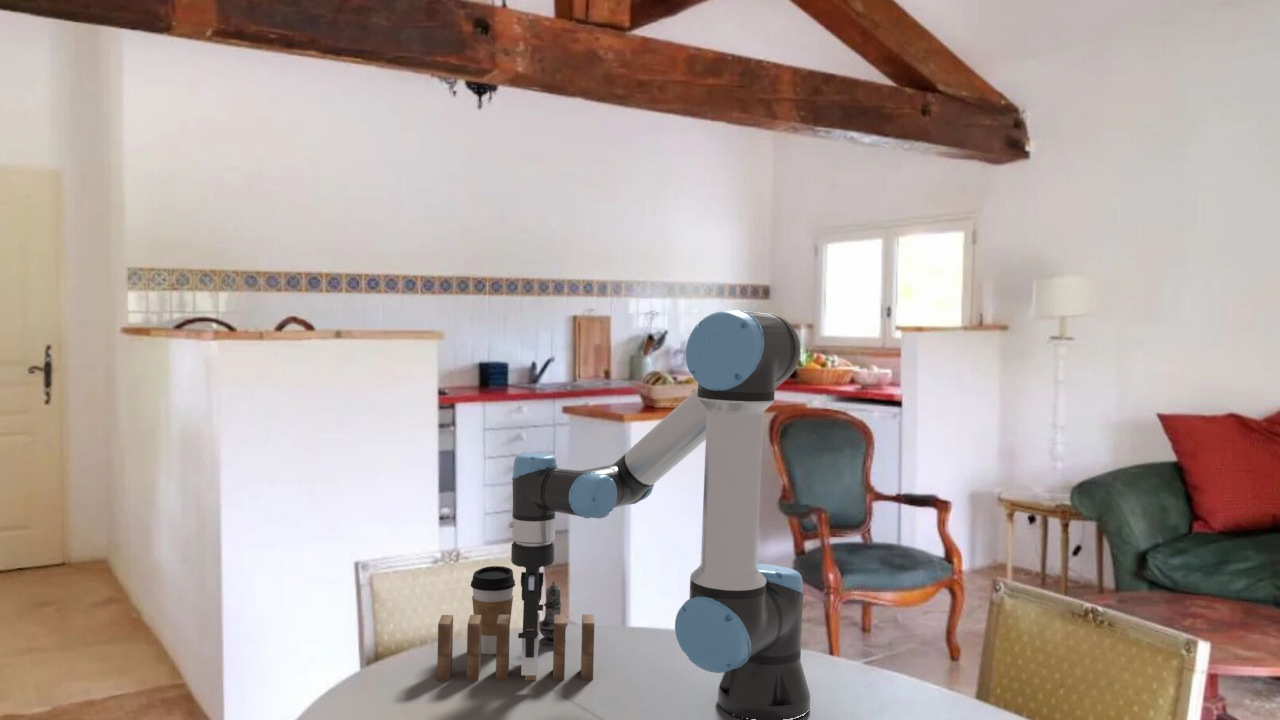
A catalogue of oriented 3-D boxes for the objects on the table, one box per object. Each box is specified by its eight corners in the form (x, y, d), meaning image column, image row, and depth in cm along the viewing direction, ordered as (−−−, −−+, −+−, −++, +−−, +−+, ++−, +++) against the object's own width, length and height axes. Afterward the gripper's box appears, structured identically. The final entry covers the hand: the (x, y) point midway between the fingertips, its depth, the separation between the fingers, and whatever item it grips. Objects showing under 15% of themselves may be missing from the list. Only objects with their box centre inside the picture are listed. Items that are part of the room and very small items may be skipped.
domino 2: (480, 670, 168) (481, 614, 168) (478, 680, 163) (479, 623, 163) (469, 670, 168) (470, 614, 168) (466, 680, 163) (467, 623, 163)
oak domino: (536, 669, 169) (537, 614, 169) (536, 680, 164) (537, 623, 164) (525, 669, 169) (526, 614, 169) (524, 680, 164) (525, 623, 164)
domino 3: (508, 669, 169) (510, 614, 168) (507, 680, 164) (508, 623, 163) (497, 669, 169) (498, 614, 168) (495, 680, 164) (496, 623, 163)
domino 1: (452, 670, 168) (453, 614, 167) (448, 680, 163) (449, 623, 162) (440, 670, 168) (441, 614, 167) (437, 680, 163) (438, 623, 162)
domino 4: (564, 669, 170) (565, 614, 169) (564, 679, 165) (565, 623, 164) (553, 669, 169) (554, 614, 169) (552, 679, 164) (554, 623, 164)
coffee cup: (520, 644, 182) (522, 567, 182) (503, 659, 174) (504, 578, 174) (481, 639, 184) (482, 564, 184) (461, 653, 176) (463, 574, 176)
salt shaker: (569, 637, 187) (571, 578, 187) (564, 647, 181) (565, 585, 181) (540, 636, 188) (541, 576, 187) (534, 645, 182) (535, 584, 181)
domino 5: (592, 669, 170) (593, 614, 170) (593, 679, 165) (594, 623, 165) (580, 669, 170) (582, 614, 170) (581, 679, 165) (582, 623, 165)
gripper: (514, 526, 178) (512, 637, 179) (507, 558, 153) (505, 687, 154) (554, 526, 179) (552, 637, 179) (554, 558, 154) (551, 687, 154)
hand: (530, 660), depth 166 cm, fingers open, 13 cm apart
